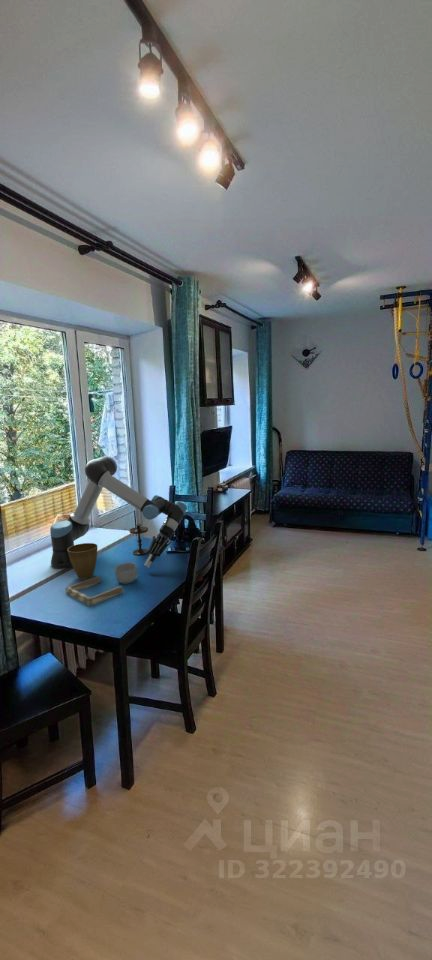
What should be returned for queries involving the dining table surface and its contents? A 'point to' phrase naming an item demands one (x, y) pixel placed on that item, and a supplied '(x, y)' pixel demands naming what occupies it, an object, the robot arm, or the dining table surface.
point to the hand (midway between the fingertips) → (146, 566)
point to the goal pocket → (95, 599)
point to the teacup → (126, 572)
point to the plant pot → (83, 559)
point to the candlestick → (138, 531)
